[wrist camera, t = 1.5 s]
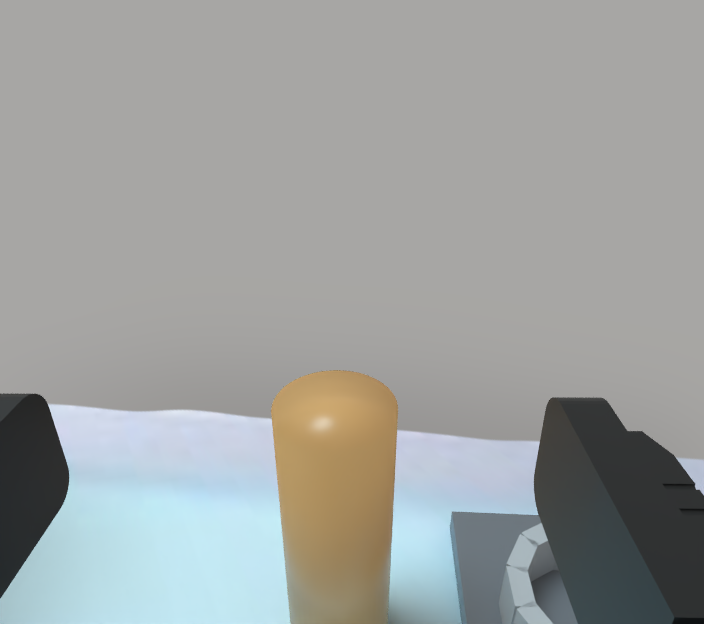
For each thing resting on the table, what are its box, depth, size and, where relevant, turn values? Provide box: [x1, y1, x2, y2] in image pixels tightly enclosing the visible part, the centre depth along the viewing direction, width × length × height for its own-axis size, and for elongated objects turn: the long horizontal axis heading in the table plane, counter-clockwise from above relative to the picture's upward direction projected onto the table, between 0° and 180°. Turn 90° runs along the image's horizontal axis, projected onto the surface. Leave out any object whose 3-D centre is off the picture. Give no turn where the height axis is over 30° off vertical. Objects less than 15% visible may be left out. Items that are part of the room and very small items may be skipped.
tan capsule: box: [271, 370, 398, 624], centre depth 25 cm, size 5×5×15 cm
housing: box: [450, 512, 578, 624], centre depth 26 cm, size 20×14×6 cm
